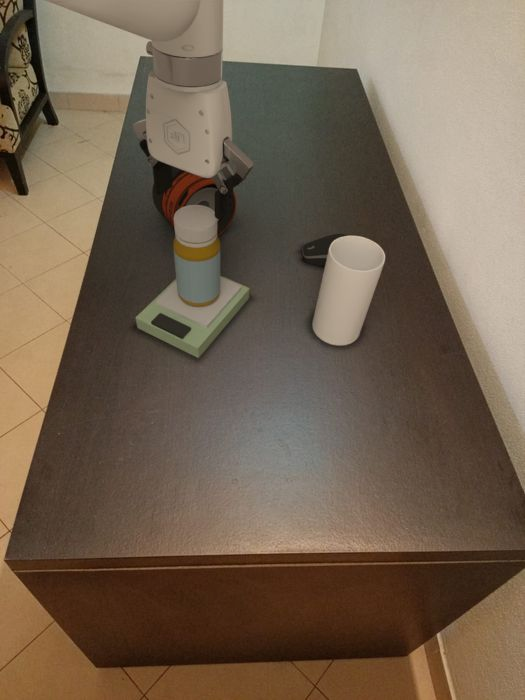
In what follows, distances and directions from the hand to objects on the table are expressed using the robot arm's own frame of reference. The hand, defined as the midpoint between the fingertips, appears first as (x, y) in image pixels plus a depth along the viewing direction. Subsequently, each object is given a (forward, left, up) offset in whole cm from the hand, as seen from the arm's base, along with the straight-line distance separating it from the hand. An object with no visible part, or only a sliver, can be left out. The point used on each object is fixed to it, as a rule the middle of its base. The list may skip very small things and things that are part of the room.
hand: (193, 202), depth 64 cm
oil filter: (+19, +14, -21) cm, 32 cm away
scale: (-1, 0, -21) cm, 21 cm away
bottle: (0, 0, -18) cm, 18 cm away
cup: (+9, -22, -21) cm, 32 cm away
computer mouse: (+26, -14, -21) cm, 36 cm away
